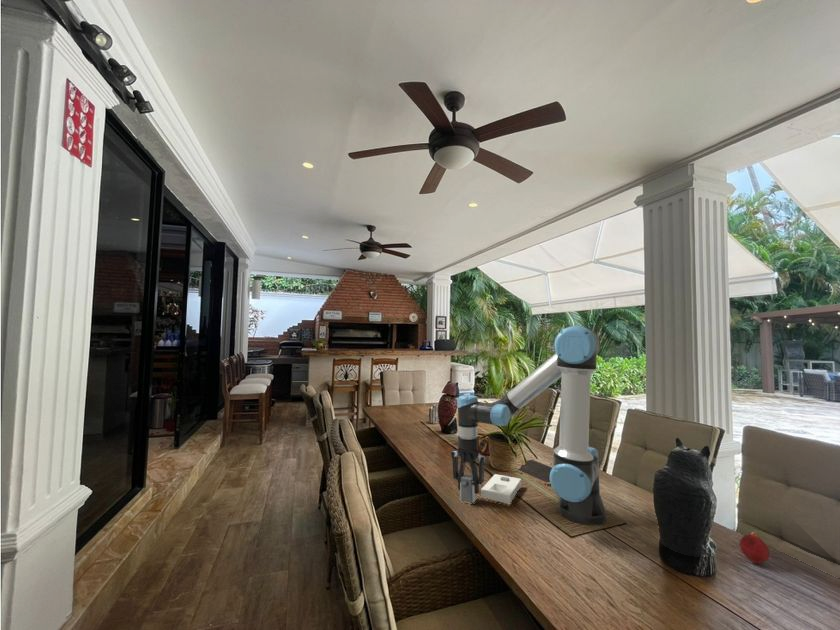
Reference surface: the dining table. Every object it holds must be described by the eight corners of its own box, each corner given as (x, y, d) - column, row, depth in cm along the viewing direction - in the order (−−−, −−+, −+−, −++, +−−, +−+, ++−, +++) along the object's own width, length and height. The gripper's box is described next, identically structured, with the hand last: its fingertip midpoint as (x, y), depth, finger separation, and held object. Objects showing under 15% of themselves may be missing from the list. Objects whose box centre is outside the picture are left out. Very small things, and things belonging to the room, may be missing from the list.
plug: (476, 499, 131) (475, 475, 132) (469, 507, 125) (469, 481, 126) (466, 497, 133) (465, 473, 134) (459, 504, 127) (459, 479, 128)
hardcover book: (546, 487, 144) (546, 481, 144) (508, 469, 164) (508, 464, 164) (572, 480, 151) (572, 474, 151) (532, 464, 172) (532, 459, 172)
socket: (521, 487, 142) (521, 476, 142) (509, 505, 126) (509, 493, 127) (495, 482, 147) (494, 472, 148) (481, 499, 132) (480, 487, 132)
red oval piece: (761, 572, 90) (758, 539, 90) (735, 558, 95) (733, 528, 96) (776, 568, 91) (773, 536, 92) (750, 555, 97) (747, 525, 97)
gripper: (492, 437, 131) (493, 501, 129) (451, 431, 139) (451, 492, 137) (486, 442, 124) (487, 510, 122) (443, 436, 133) (443, 499, 131)
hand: (468, 500), depth 130 cm, fingers closed on plug, 4 cm apart
